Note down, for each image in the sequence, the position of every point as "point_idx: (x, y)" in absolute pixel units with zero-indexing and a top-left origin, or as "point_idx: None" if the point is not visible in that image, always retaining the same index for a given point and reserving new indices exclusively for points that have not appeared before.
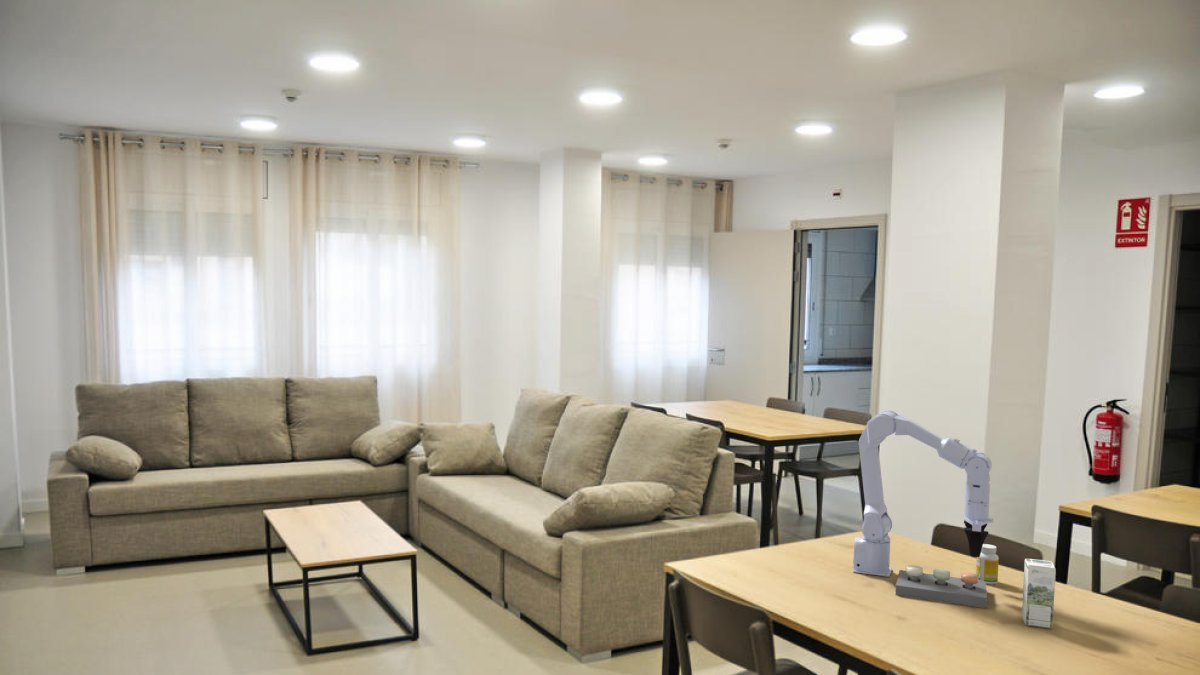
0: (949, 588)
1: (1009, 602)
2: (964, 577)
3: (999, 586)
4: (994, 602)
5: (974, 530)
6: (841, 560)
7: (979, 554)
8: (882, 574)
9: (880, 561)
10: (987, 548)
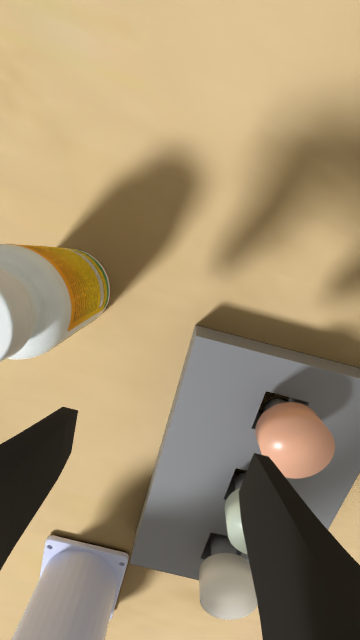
0: (302, 478)
1: (308, 276)
2: (315, 468)
3: (123, 254)
4: (313, 329)
5: None
6: (11, 616)
7: (278, 472)
8: (124, 571)
9: (105, 622)
10: (14, 338)
